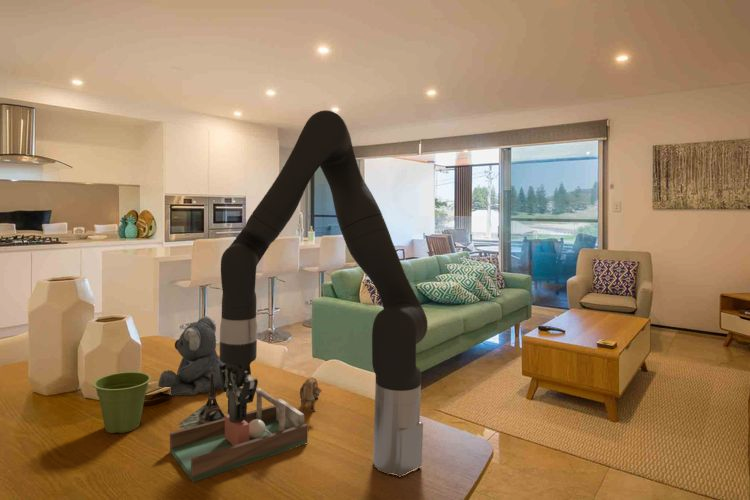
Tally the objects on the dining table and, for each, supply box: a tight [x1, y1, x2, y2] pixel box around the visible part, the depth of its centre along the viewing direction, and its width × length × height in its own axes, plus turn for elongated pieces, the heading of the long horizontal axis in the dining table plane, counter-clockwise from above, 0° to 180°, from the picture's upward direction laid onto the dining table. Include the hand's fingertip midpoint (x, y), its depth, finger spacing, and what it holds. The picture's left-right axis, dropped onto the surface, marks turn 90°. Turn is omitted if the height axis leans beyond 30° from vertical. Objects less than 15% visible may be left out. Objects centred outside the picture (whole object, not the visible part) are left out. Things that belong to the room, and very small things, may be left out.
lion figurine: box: [299, 376, 323, 413], centre depth 126 cm, size 15×5×9 cm, turn 10°
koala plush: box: [157, 315, 225, 397], centre depth 137 cm, size 17×18×20 cm
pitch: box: [169, 387, 309, 483], centre depth 103 cm, size 14×25×10 cm, turn 130°
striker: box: [225, 387, 249, 446], centre depth 103 cm, size 7×3×12 cm, turn 40°
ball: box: [249, 419, 266, 439], centre depth 106 cm, size 4×4×4 cm
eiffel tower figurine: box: [178, 370, 225, 429], centre depth 118 cm, size 15×10×13 cm
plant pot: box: [92, 371, 152, 434], centre depth 111 cm, size 12×12×11 cm
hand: (236, 416), depth 103 cm, fingers closed on striker, 3 cm apart
